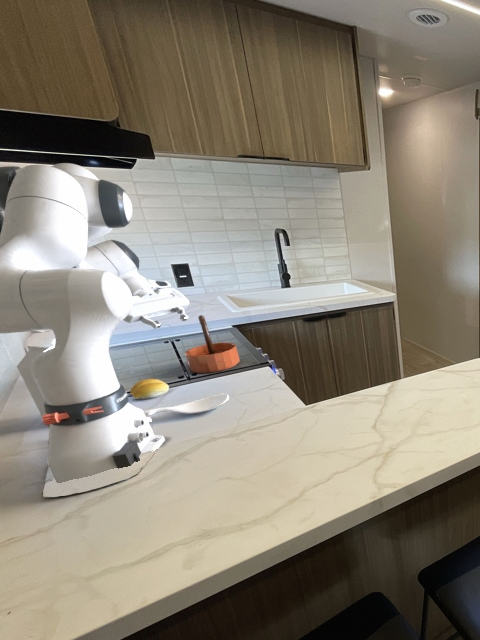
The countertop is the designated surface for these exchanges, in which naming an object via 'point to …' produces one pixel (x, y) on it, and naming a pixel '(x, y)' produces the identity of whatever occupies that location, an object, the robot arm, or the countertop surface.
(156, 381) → the bread roll
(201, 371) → the bowl
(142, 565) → the countertop surface
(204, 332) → the wooden masher
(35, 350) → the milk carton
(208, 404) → the spoon
